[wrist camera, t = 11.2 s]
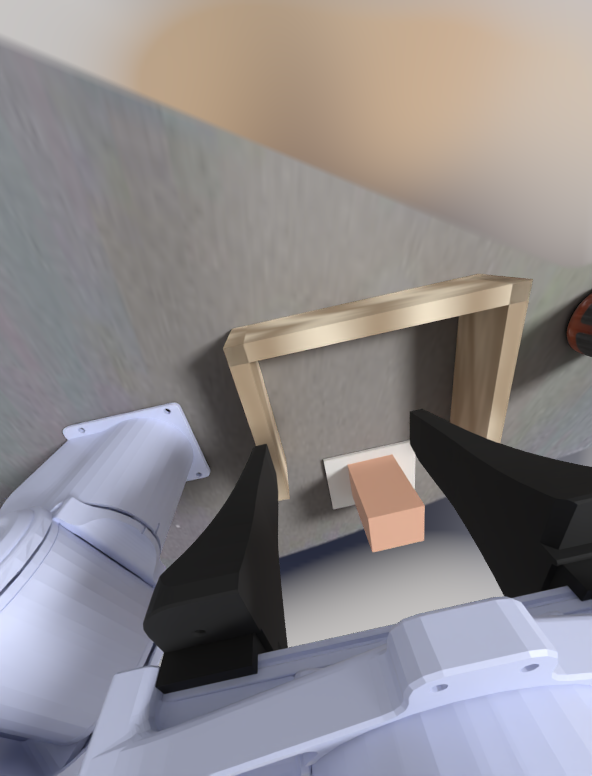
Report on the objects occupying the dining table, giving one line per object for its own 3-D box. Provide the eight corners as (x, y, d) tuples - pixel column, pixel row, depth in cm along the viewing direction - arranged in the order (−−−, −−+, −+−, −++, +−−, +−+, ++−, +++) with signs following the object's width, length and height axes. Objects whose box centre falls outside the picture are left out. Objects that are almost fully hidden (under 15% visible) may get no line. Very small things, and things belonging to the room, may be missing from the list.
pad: (332, 507, 29) (333, 509, 29) (323, 459, 26) (323, 461, 26) (413, 489, 29) (414, 491, 29) (413, 438, 26) (415, 440, 26)
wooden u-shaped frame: (273, 462, 26) (275, 501, 22) (231, 328, 20) (222, 348, 16) (462, 420, 26) (498, 451, 22) (478, 273, 20) (532, 279, 16)
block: (352, 496, 28) (372, 552, 23) (347, 464, 26) (368, 518, 21) (394, 486, 28) (423, 540, 23) (392, 454, 26) (424, 505, 21)
